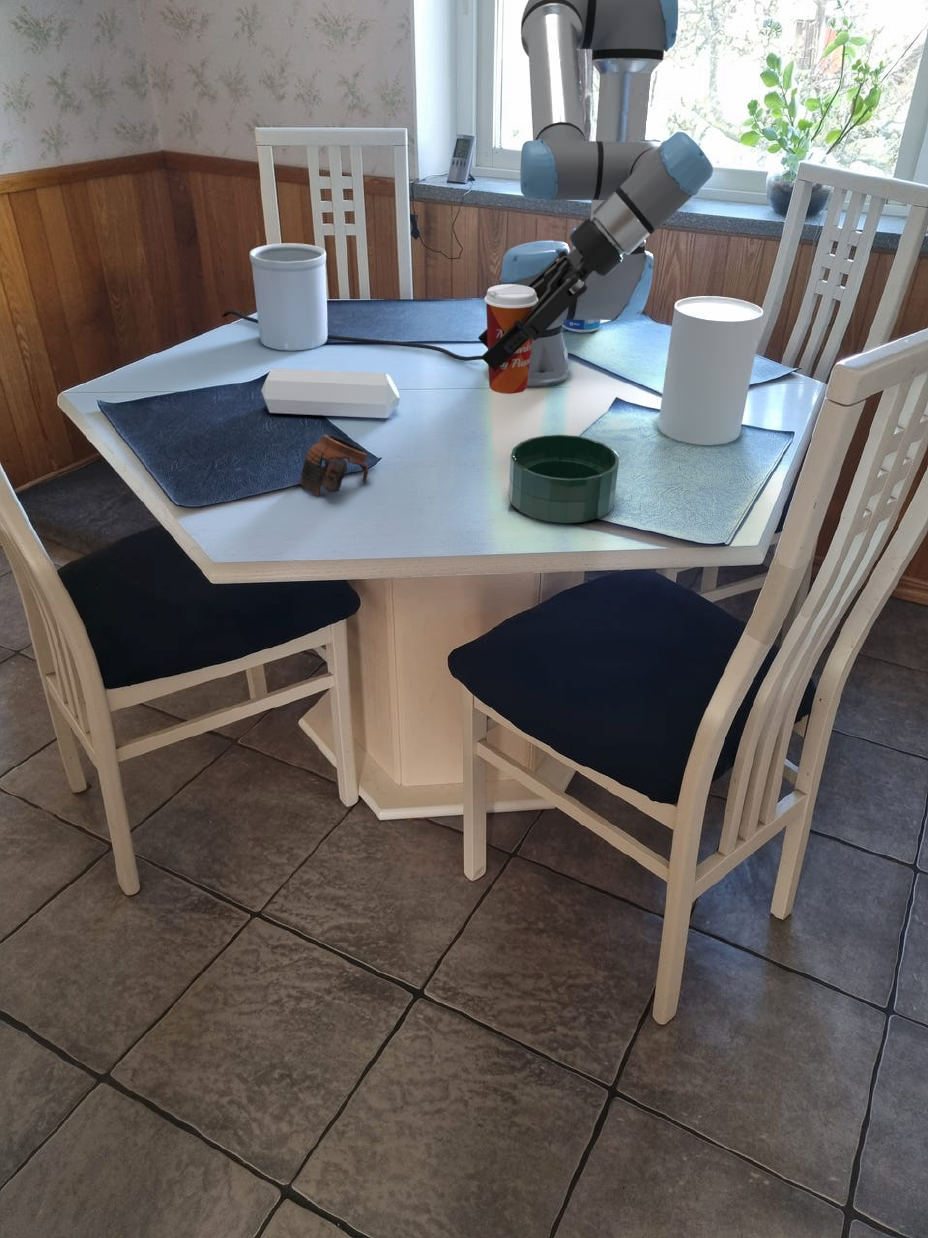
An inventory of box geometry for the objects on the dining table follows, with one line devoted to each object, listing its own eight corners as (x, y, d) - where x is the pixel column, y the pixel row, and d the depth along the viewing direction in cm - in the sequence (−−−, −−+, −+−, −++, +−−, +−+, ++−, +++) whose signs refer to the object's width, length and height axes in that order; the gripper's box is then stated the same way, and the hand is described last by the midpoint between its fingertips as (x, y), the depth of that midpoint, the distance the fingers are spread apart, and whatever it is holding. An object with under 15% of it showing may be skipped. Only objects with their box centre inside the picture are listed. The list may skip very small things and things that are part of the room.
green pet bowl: (491, 510, 132) (493, 464, 128) (534, 470, 143) (537, 427, 139) (591, 535, 126) (595, 488, 122) (628, 492, 137) (633, 447, 133)
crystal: (404, 380, 163) (269, 374, 165) (398, 372, 156) (257, 366, 157) (402, 423, 164) (267, 417, 165) (396, 417, 157) (255, 411, 158)
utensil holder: (346, 337, 195) (341, 249, 185) (298, 357, 184) (291, 264, 174) (292, 325, 201) (284, 239, 191) (243, 343, 191) (232, 253, 181)
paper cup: (497, 399, 134) (501, 300, 126) (473, 382, 140) (474, 286, 132) (544, 391, 137) (550, 293, 129) (518, 374, 143) (522, 280, 135)
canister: (688, 450, 150) (708, 325, 139) (642, 419, 160) (658, 301, 149) (756, 437, 154) (781, 315, 143) (708, 408, 165) (727, 292, 153)
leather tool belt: (293, 477, 141) (314, 426, 139) (351, 500, 144) (372, 451, 142) (297, 493, 130) (319, 437, 128) (360, 518, 133) (382, 464, 131)
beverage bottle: (602, 334, 199) (612, 234, 188) (562, 333, 199) (570, 233, 188) (598, 321, 206) (607, 225, 195) (560, 321, 206) (567, 224, 195)
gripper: (639, 277, 120) (509, 397, 129) (612, 239, 137) (498, 348, 146) (602, 233, 117) (471, 360, 126) (579, 200, 134) (465, 313, 142)
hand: (486, 353), depth 136 cm, fingers closed on paper cup, 8 cm apart
